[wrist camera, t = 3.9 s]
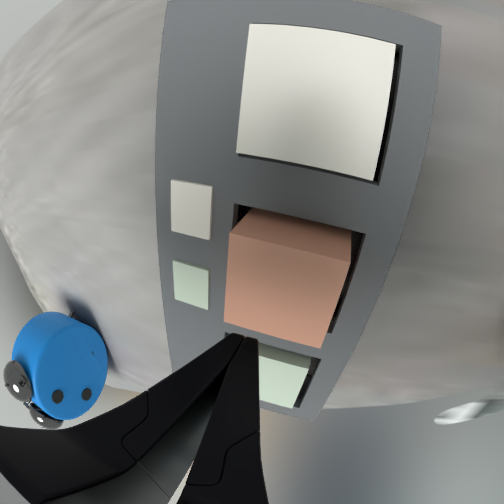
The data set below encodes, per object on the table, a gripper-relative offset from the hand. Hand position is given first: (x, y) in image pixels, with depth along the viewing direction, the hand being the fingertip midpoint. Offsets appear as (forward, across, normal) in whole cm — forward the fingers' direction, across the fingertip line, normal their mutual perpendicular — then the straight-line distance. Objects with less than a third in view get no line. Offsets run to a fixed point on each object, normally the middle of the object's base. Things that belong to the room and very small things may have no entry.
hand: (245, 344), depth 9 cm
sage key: (+10, 0, +11) cm, 15 cm away
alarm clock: (+11, +25, +21) cm, 34 cm away
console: (+11, +1, +2) cm, 11 cm away
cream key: (+8, 0, -7) cm, 11 cm away
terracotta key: (+9, 0, +2) cm, 9 cm away
